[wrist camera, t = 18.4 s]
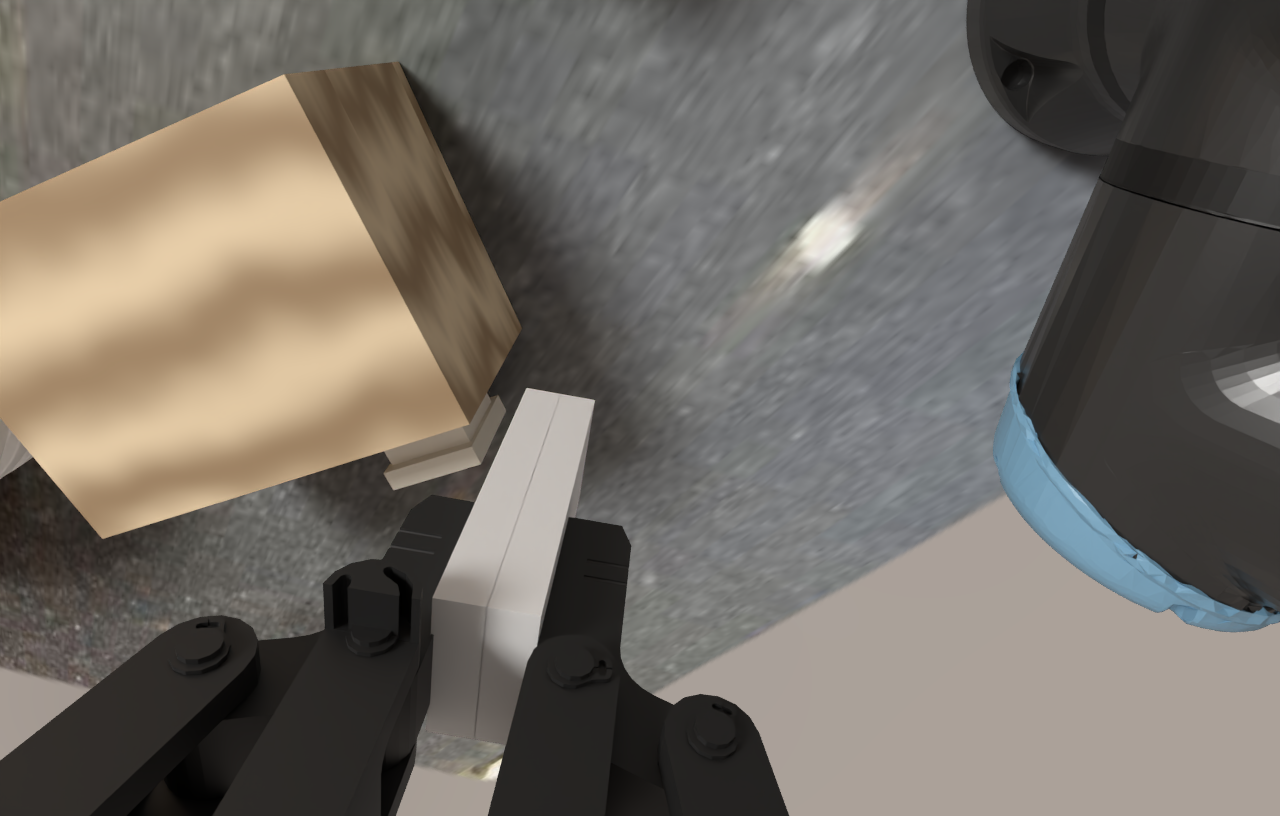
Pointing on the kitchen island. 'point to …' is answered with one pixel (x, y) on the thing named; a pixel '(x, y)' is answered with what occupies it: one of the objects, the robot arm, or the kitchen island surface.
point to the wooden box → (245, 300)
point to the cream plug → (446, 448)
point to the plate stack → (11, 451)
